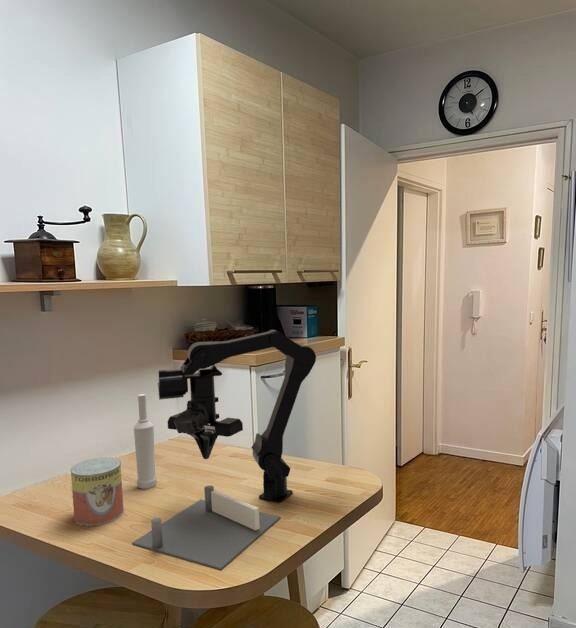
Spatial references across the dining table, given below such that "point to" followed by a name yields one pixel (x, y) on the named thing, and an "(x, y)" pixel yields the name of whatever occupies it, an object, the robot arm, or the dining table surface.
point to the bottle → (144, 447)
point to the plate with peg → (203, 536)
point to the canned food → (97, 491)
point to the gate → (231, 508)
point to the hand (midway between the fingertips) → (206, 458)
